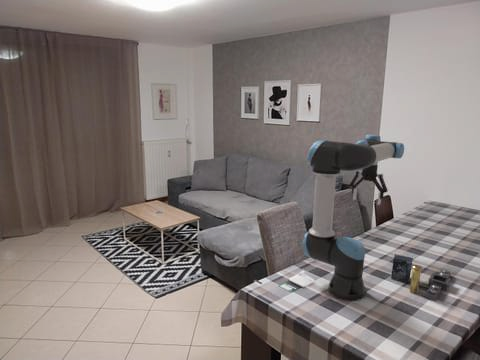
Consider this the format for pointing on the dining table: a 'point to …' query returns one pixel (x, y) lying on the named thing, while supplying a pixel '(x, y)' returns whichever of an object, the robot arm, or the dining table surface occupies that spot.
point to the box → (401, 268)
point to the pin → (415, 278)
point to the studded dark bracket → (438, 284)
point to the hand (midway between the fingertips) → (366, 201)
